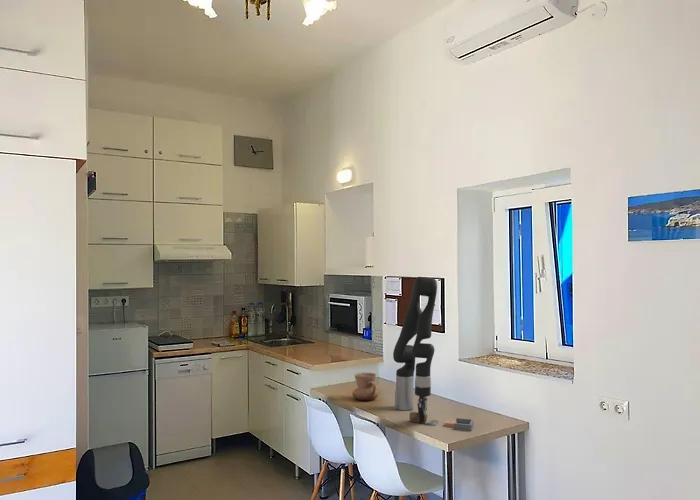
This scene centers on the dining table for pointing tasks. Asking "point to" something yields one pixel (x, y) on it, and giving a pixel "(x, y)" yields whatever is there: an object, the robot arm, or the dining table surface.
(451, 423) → the tile
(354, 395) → the ceramic jug
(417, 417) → the brown and grey scraper
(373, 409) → the dining table surface
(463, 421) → the bay
